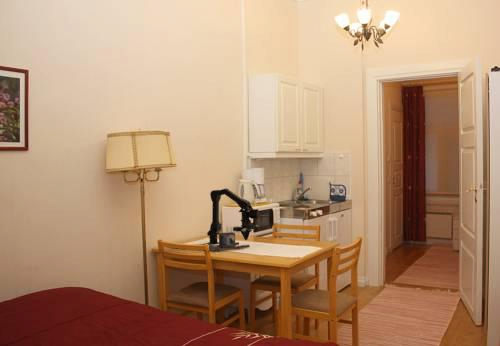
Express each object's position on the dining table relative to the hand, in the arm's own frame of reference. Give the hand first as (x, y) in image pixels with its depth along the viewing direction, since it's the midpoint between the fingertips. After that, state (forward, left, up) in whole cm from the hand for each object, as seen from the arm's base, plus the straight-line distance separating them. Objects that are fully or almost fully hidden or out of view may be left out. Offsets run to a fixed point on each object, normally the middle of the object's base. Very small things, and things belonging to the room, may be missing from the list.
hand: (246, 240), depth 338 cm
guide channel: (0, -16, -4) cm, 16 cm away
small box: (0, -16, -4) cm, 17 cm away
